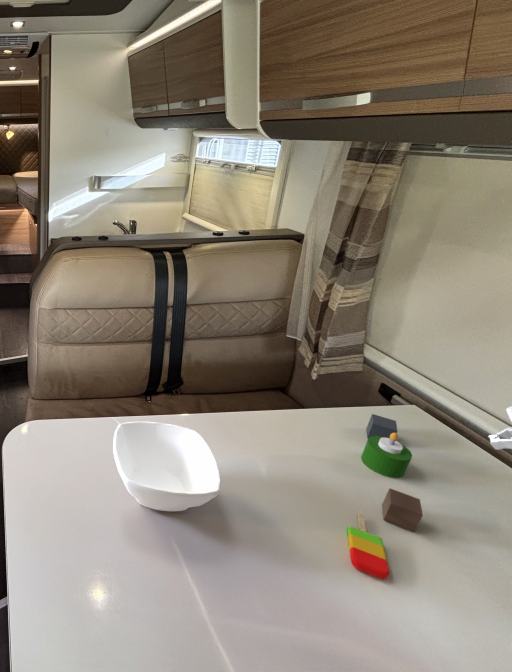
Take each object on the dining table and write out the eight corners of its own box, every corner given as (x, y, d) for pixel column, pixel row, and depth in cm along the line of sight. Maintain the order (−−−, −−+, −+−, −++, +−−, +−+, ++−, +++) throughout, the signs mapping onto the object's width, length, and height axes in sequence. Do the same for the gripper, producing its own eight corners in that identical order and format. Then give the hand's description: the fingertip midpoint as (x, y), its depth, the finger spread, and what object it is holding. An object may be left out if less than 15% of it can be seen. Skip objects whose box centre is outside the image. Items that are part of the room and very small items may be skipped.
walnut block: (411, 516, 93) (419, 499, 91) (414, 532, 89) (423, 515, 87) (382, 504, 95) (389, 488, 94) (383, 520, 92) (390, 503, 90)
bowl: (112, 526, 91) (117, 486, 87) (106, 452, 111) (110, 416, 107) (222, 542, 87) (233, 501, 83) (196, 462, 108) (203, 426, 103)
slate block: (389, 435, 116) (396, 420, 114) (391, 446, 112) (397, 431, 110) (366, 428, 119) (372, 413, 117) (367, 438, 115) (372, 423, 113)
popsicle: (351, 567, 82) (354, 561, 82) (342, 511, 94) (345, 504, 93) (388, 583, 80) (391, 576, 79) (374, 522, 91) (377, 516, 91)
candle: (370, 448, 111) (382, 417, 108) (410, 469, 105) (424, 437, 101) (354, 460, 108) (366, 428, 104) (395, 483, 101) (409, 450, 97)
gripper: (555, 387, 91) (472, 407, 101) (590, 439, 77) (489, 456, 86) (577, 412, 90) (492, 430, 100) (618, 469, 76) (513, 484, 85)
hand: (491, 442), depth 93 cm, fingers closed
